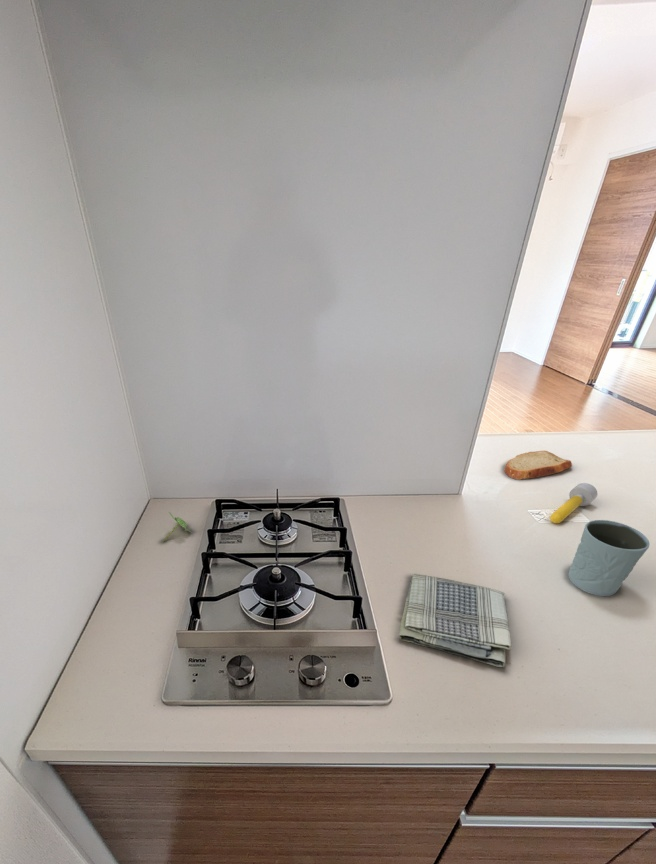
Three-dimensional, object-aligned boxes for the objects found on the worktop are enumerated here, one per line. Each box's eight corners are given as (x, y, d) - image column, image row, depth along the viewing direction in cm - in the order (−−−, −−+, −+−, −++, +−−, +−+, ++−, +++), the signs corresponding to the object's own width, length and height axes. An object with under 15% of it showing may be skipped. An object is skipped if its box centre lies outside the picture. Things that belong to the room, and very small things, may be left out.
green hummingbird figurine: (175, 551, 107) (191, 530, 109) (177, 551, 100) (194, 528, 101) (151, 533, 106) (168, 512, 108) (151, 532, 99) (169, 509, 100)
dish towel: (409, 576, 91) (411, 564, 89) (503, 597, 85) (507, 585, 84) (396, 643, 77) (399, 630, 75) (508, 674, 71) (514, 661, 69)
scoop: (587, 479, 111) (554, 507, 103) (602, 495, 110) (570, 524, 102) (570, 489, 115) (537, 516, 108) (584, 504, 114) (552, 533, 107)
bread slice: (504, 478, 125) (508, 466, 123) (503, 452, 139) (506, 441, 137) (576, 489, 119) (581, 477, 117) (567, 461, 133) (572, 450, 131)
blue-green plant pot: (557, 581, 89) (578, 534, 82) (572, 558, 95) (593, 513, 88) (615, 607, 83) (644, 558, 76) (627, 580, 89) (655, 533, 82)
